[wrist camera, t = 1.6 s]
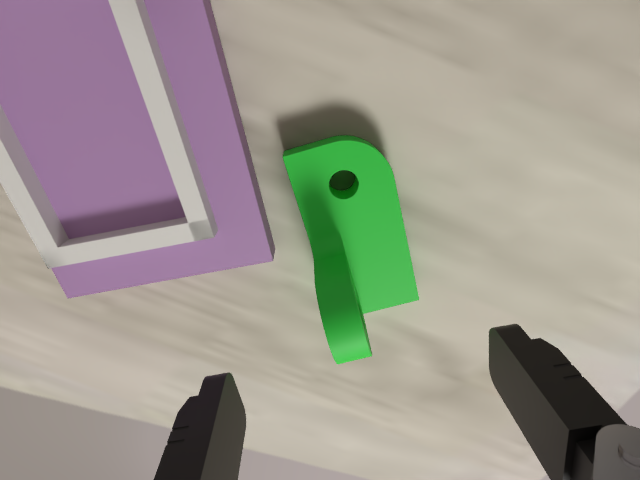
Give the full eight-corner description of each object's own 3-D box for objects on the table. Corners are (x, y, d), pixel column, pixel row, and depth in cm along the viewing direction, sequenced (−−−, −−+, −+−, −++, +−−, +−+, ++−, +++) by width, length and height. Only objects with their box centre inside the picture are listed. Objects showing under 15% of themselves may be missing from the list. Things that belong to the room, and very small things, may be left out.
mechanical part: (411, 284, 28) (448, 360, 21) (333, 304, 29) (342, 385, 22) (378, 122, 23) (410, 148, 16) (284, 150, 24) (274, 186, 17)
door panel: (177, -123, 18) (154, -156, 15) (275, 248, 26) (271, 269, 24) (-97, -58, 19) (-165, -79, 16) (82, 284, 27) (57, 308, 24)
